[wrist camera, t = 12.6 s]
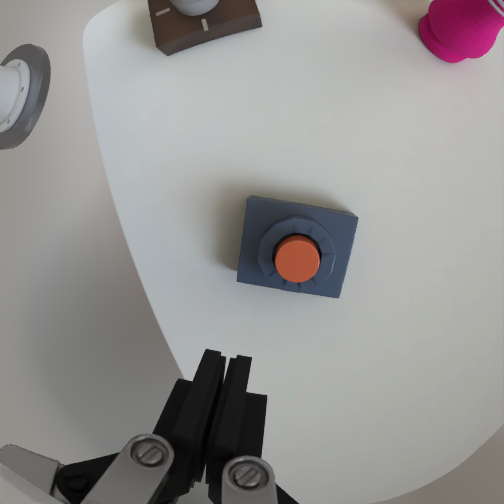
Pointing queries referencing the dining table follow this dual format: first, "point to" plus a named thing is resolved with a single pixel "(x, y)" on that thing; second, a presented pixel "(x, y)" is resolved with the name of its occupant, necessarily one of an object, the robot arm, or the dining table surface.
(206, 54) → the dining table surface
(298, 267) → the button
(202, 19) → the dial panel
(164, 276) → the dining table surface
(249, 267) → the button box
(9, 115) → the robot arm
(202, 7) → the dial knob
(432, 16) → the pepper mill
